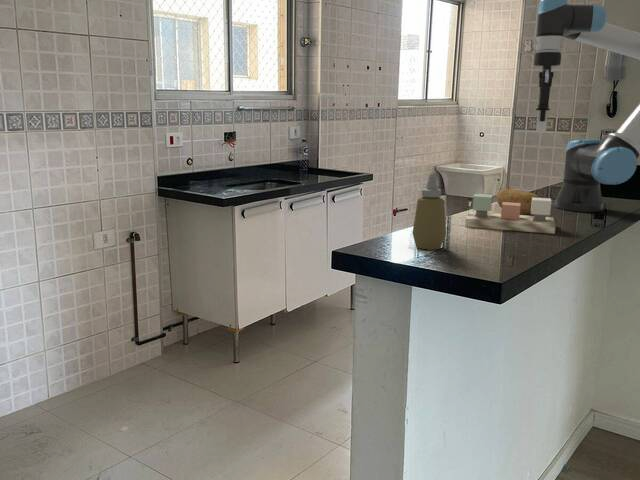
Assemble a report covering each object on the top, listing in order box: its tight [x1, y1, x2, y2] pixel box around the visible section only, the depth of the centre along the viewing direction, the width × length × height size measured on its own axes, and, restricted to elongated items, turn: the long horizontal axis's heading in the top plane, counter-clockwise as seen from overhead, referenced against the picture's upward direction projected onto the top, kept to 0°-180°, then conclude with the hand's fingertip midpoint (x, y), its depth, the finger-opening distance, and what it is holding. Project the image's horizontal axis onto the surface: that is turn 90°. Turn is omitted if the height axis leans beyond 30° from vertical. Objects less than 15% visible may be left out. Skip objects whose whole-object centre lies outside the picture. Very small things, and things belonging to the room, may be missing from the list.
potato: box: [496, 188, 541, 216], centre depth 191 cm, size 10×14×8 cm
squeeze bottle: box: [412, 173, 447, 251], centre depth 144 cm, size 8×8×18 cm
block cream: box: [530, 197, 552, 222], centre depth 170 cm, size 5×5×6 cm
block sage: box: [472, 193, 493, 217], centre depth 175 cm, size 5×5×6 cm
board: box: [464, 211, 556, 235], centre depth 174 cm, size 24×12×2 cm, turn 72°
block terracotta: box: [500, 202, 521, 220], centre depth 173 cm, size 5×5×6 cm
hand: (540, 132), depth 184 cm, fingers closed
